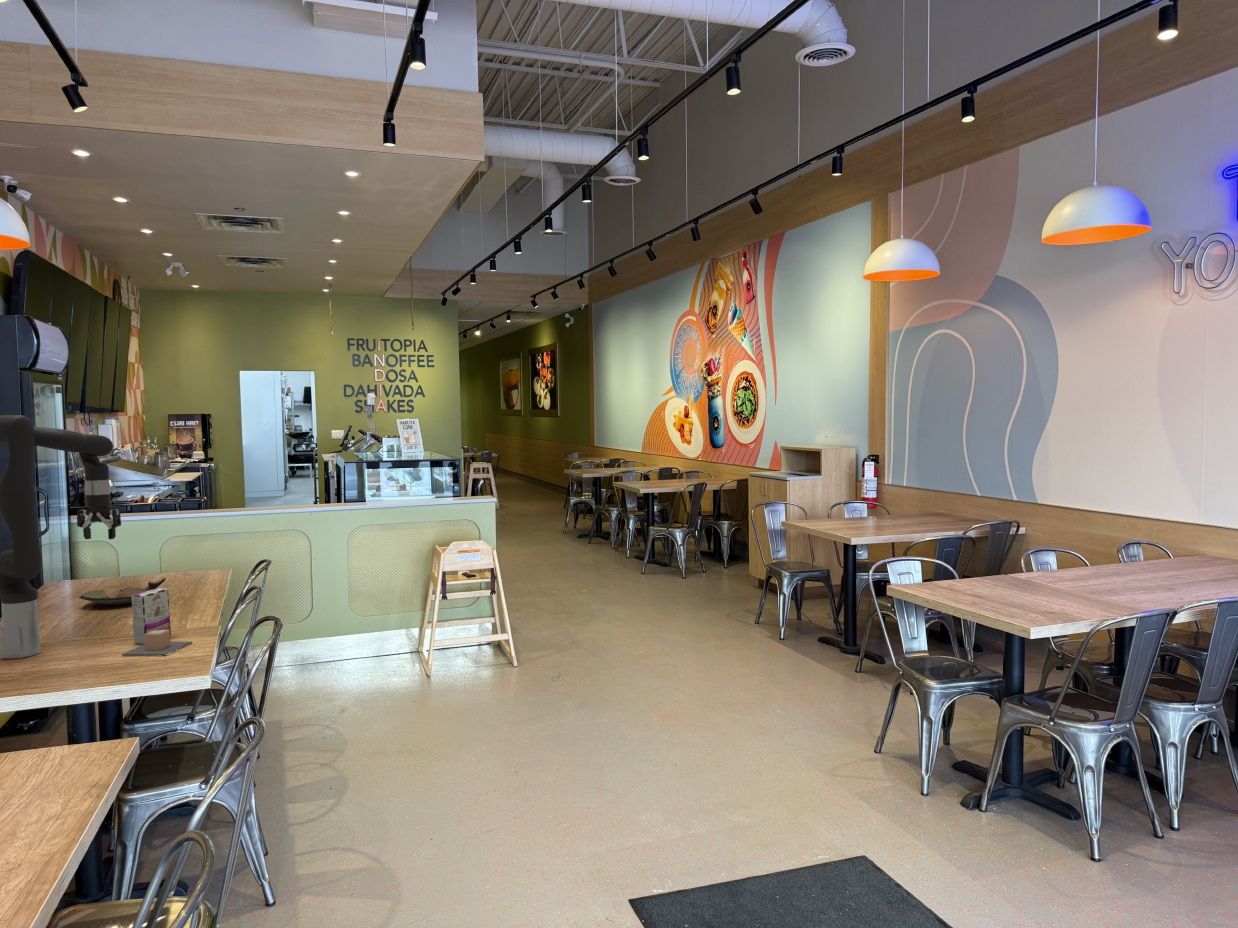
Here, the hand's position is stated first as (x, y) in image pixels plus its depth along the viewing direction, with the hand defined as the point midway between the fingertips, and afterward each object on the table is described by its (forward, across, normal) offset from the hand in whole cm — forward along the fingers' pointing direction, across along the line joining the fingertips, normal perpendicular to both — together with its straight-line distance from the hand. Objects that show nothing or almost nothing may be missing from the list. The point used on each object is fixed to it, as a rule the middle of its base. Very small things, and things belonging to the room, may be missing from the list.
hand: (99, 539), depth 277 cm
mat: (+32, +35, -24) cm, 53 cm away
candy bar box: (+32, +26, -13) cm, 43 cm away
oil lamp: (+32, -20, +40) cm, 55 cm away
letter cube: (+32, +35, -24) cm, 53 cm away
